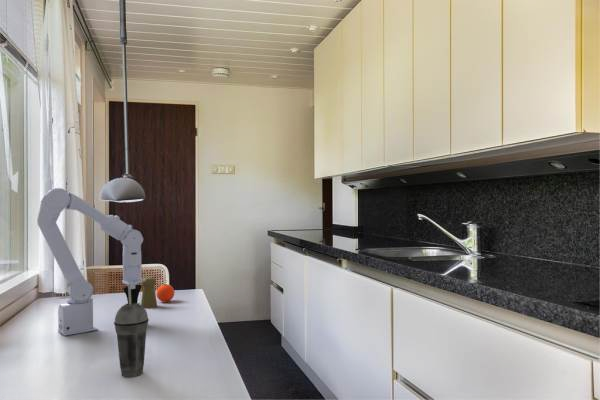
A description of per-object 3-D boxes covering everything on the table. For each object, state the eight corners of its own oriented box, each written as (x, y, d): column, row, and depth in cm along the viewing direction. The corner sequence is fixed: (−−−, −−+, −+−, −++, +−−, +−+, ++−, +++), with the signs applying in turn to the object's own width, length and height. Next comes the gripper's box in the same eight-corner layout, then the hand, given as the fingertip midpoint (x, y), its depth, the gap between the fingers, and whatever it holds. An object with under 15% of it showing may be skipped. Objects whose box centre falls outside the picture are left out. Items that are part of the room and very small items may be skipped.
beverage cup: (153, 367, 108) (152, 280, 109) (144, 379, 101) (142, 285, 101) (121, 368, 108) (120, 281, 108) (109, 380, 101) (108, 286, 101)
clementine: (156, 300, 192) (156, 282, 192) (174, 299, 194) (173, 281, 194) (156, 304, 184) (156, 285, 184) (175, 302, 186) (174, 284, 186)
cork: (159, 305, 182) (159, 276, 182) (153, 308, 176) (152, 278, 176) (144, 305, 183) (144, 276, 183) (137, 308, 177) (137, 278, 177)
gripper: (145, 267, 148) (145, 311, 147) (145, 263, 161) (145, 303, 161) (121, 269, 145) (121, 313, 145) (123, 264, 159) (123, 304, 159)
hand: (132, 308), depth 153 cm, fingers closed
